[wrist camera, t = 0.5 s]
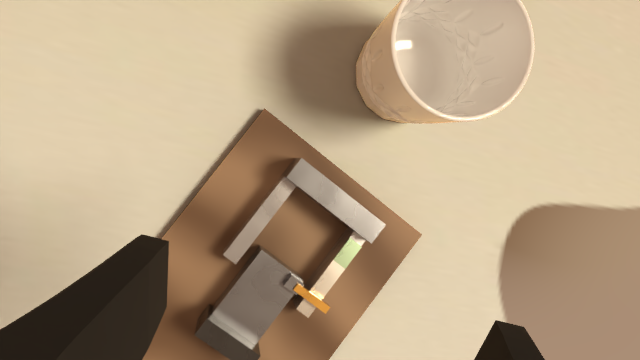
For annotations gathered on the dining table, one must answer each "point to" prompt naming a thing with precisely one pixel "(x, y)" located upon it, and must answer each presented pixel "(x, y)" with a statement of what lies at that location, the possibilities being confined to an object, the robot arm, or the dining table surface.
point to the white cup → (446, 60)
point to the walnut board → (272, 250)
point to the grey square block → (251, 306)
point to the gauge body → (335, 203)
